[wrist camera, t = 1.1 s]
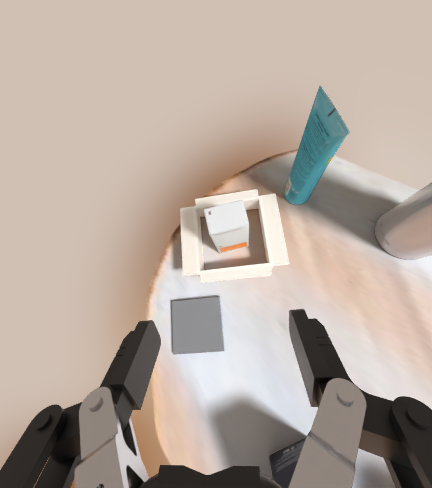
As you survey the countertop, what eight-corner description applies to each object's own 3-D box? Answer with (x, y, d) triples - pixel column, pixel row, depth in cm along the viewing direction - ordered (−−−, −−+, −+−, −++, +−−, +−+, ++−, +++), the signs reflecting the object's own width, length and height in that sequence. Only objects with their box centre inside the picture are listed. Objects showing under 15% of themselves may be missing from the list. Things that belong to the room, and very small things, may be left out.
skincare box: (219, 254, 41) (207, 234, 29) (215, 234, 42) (202, 208, 31) (249, 247, 40) (249, 224, 29) (244, 226, 42) (242, 197, 30)
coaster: (219, 296, 38) (219, 296, 38) (224, 350, 36) (224, 351, 35) (172, 301, 40) (171, 301, 39) (174, 353, 37) (173, 354, 36)
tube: (317, 204, 40) (372, 122, 22) (293, 213, 41) (329, 140, 22) (298, 174, 43) (335, 78, 25) (276, 183, 43) (296, 95, 25)
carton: (272, 196, 42) (274, 186, 39) (286, 276, 38) (291, 273, 34) (185, 210, 45) (179, 201, 41) (189, 286, 40) (183, 284, 36)
